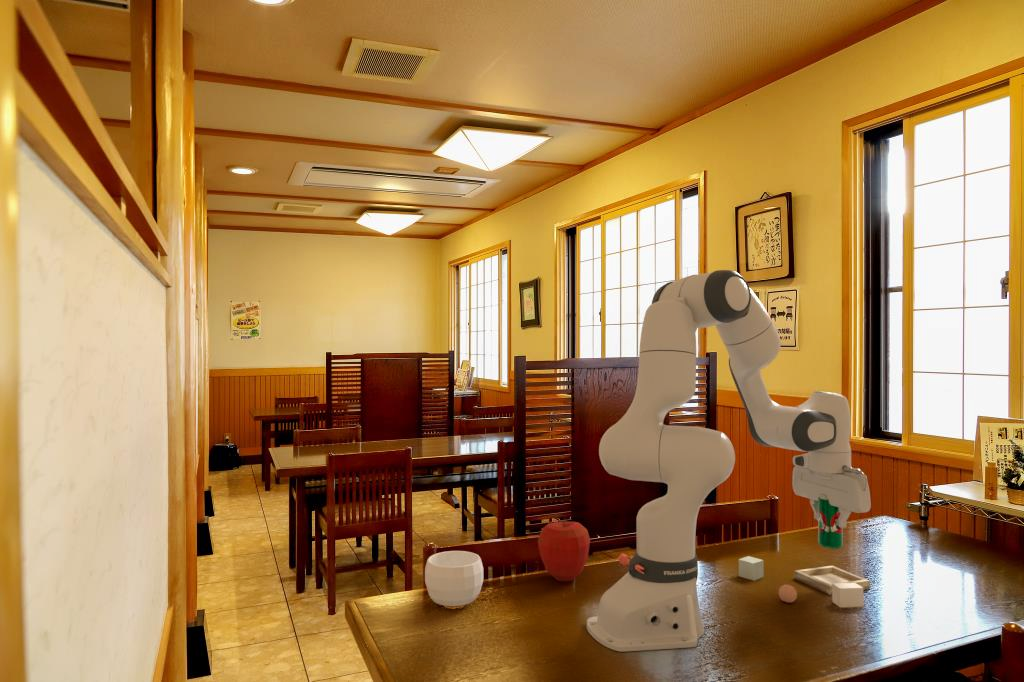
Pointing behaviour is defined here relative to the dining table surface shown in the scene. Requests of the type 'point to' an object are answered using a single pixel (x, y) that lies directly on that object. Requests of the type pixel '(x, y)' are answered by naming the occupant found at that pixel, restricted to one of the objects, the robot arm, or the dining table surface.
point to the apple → (564, 549)
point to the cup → (454, 577)
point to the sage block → (751, 568)
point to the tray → (828, 578)
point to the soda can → (828, 524)
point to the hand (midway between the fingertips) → (830, 523)
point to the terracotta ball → (787, 593)
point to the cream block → (847, 594)
